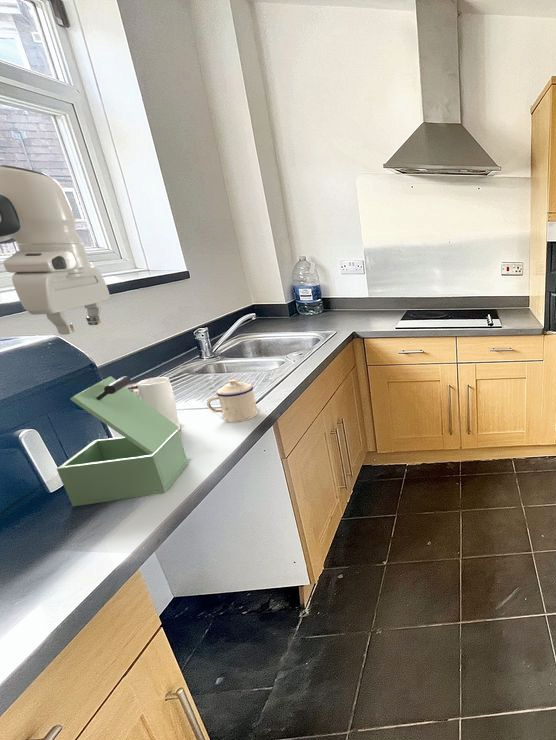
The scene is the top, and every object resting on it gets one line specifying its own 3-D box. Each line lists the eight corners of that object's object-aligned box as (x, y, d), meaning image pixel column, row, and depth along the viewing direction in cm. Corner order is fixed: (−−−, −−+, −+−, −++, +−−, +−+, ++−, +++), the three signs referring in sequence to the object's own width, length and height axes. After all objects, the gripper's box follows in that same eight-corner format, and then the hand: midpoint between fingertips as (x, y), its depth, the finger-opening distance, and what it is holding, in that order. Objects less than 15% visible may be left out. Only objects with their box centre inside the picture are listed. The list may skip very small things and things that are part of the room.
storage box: (72, 506, 83) (56, 468, 80) (108, 474, 94) (94, 439, 92) (165, 492, 88) (152, 456, 85) (188, 463, 99) (178, 430, 96)
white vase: (152, 431, 115) (135, 380, 110) (182, 424, 120) (167, 375, 114) (154, 439, 111) (136, 387, 105) (185, 431, 115) (170, 381, 110)
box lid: (69, 399, 77) (90, 383, 78) (107, 378, 89) (126, 364, 89) (150, 455, 85) (169, 440, 85) (176, 429, 96) (193, 416, 96)
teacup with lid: (259, 408, 130) (251, 373, 126) (258, 419, 123) (250, 382, 119) (213, 416, 125) (203, 379, 121) (209, 427, 117) (199, 389, 113)
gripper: (71, 257, 90) (93, 320, 94) (-6, 263, 71) (26, 341, 76) (107, 256, 91) (127, 319, 96) (41, 262, 73) (70, 338, 78)
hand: (82, 329), depth 86 cm, fingers open, 8 cm apart
